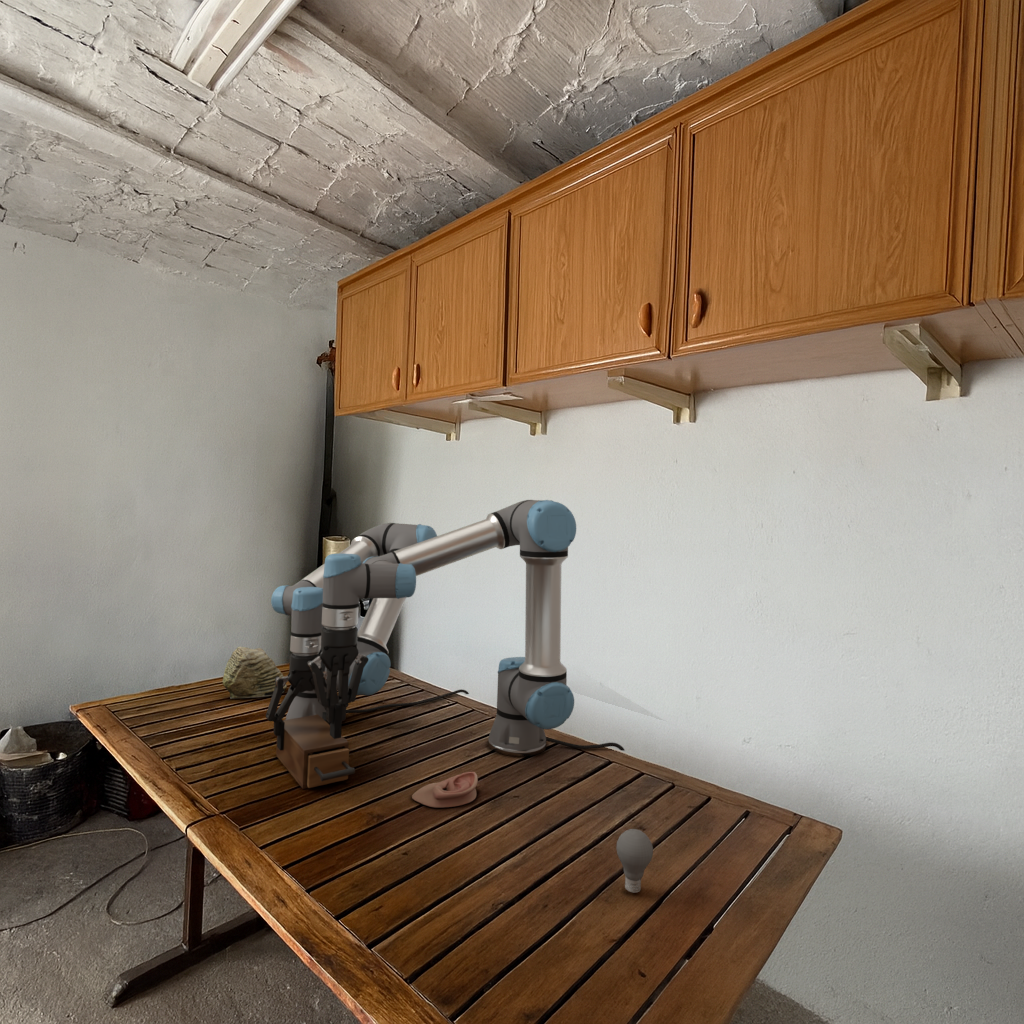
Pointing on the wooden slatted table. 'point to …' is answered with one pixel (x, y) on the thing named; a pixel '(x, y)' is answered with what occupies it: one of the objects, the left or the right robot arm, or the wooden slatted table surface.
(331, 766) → the drawer
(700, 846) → the wooden slatted table surface
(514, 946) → the wooden slatted table surface
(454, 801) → the anatomical model
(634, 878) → the light bulb
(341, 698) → the right robot arm
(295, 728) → the cabinet
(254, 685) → the fossil
